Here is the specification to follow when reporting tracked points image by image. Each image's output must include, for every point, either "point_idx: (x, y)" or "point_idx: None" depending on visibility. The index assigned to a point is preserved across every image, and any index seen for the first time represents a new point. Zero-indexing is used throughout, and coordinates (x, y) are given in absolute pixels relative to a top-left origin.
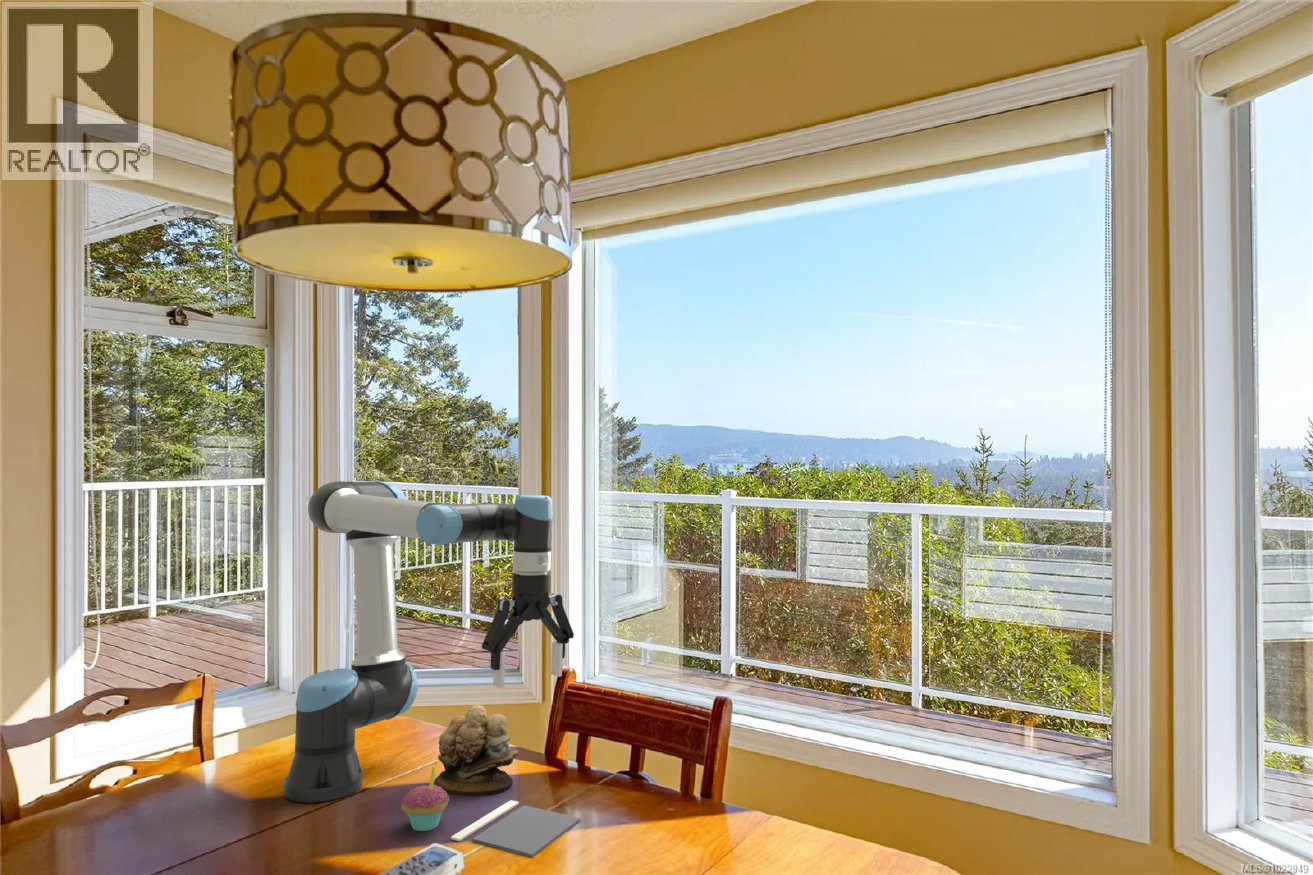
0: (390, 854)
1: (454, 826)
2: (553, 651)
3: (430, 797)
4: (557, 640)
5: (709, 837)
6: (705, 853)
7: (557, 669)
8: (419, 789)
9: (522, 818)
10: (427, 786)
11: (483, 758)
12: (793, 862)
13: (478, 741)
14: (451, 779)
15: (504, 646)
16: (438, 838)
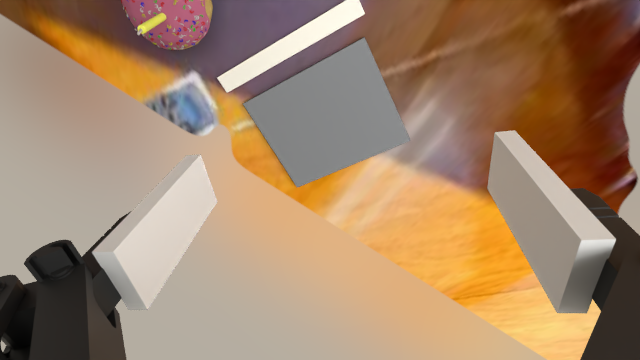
0: (133, 69)
1: (233, 34)
2: (542, 216)
3: (163, 41)
4: (611, 279)
5: (504, 265)
6: (465, 283)
7: (498, 196)
8: (140, 5)
9: (334, 87)
10: (156, 2)
11: None
12: (516, 335)
13: None
14: None
15: (120, 339)
16: (202, 62)
